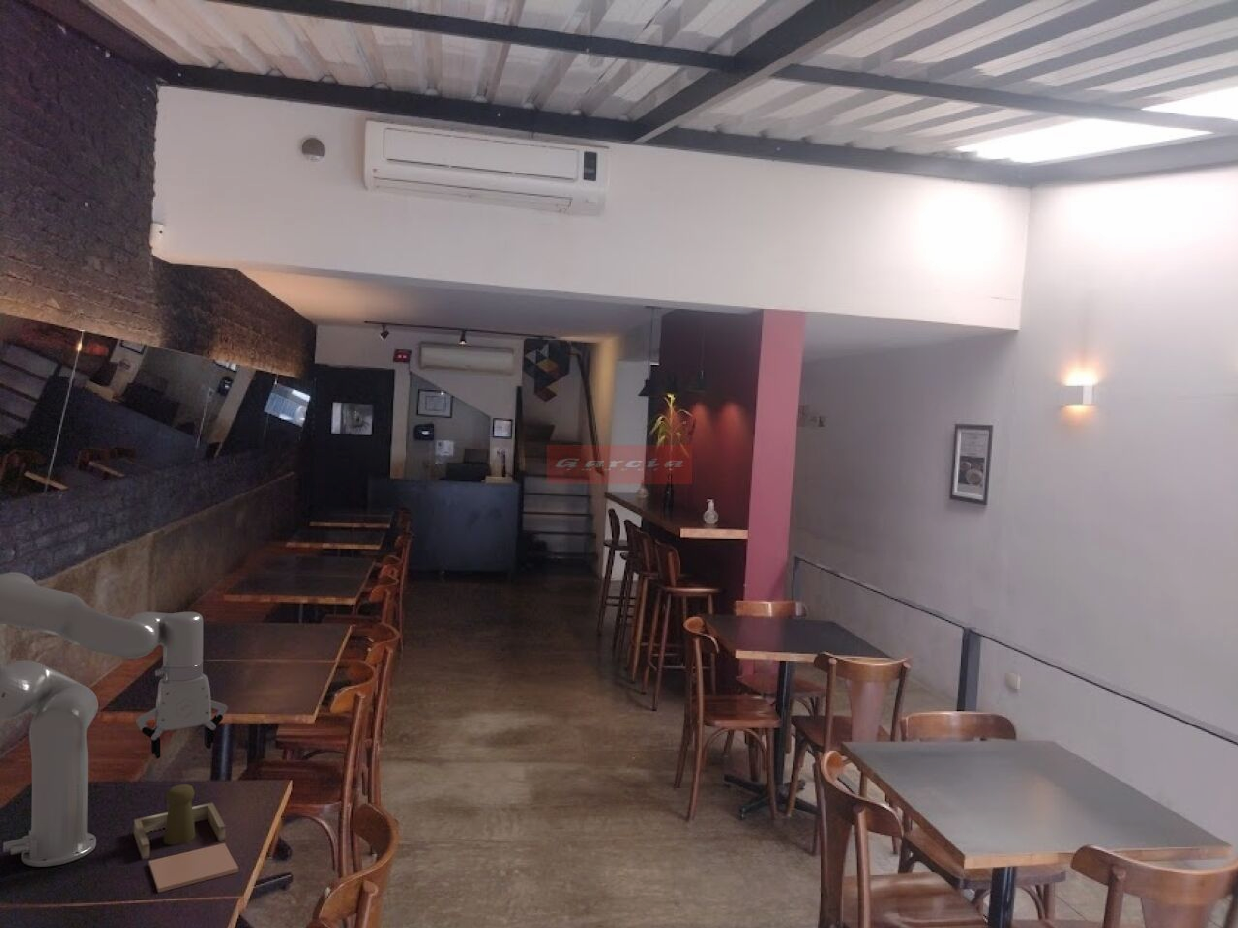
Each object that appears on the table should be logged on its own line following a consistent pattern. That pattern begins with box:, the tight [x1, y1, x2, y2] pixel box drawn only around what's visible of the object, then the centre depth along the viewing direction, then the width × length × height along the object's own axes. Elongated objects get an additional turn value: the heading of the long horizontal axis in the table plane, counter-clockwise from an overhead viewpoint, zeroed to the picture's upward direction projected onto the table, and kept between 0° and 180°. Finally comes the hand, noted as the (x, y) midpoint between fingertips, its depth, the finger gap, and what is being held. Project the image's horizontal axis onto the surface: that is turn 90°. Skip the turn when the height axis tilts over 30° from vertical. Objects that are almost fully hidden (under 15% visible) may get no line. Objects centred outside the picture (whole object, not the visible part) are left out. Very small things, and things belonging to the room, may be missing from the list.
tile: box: [148, 842, 239, 894], centre depth 167 cm, size 14×12×1 cm
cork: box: [163, 783, 196, 846], centre depth 179 cm, size 6×6×11 cm
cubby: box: [133, 802, 226, 861], centre depth 180 cm, size 15×13×3 cm
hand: (182, 751), depth 179 cm, fingers open, 9 cm apart
